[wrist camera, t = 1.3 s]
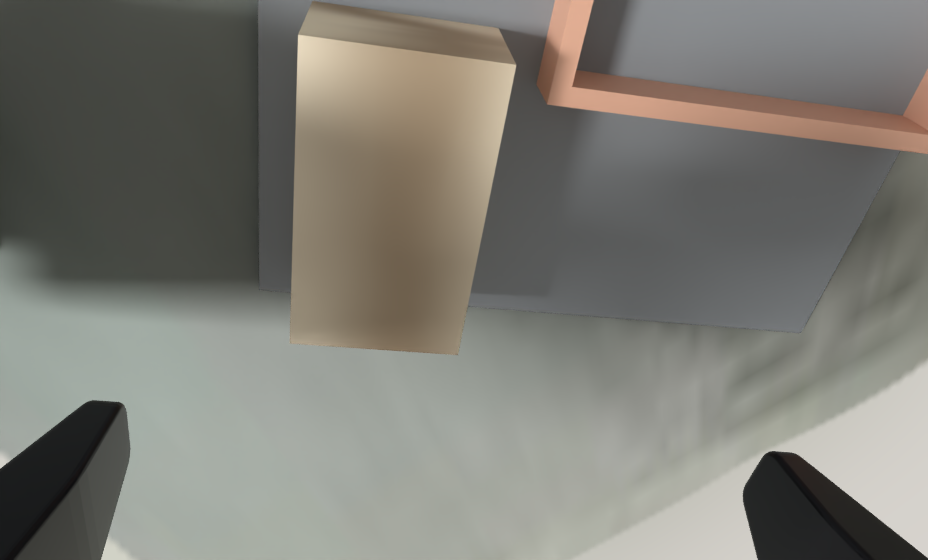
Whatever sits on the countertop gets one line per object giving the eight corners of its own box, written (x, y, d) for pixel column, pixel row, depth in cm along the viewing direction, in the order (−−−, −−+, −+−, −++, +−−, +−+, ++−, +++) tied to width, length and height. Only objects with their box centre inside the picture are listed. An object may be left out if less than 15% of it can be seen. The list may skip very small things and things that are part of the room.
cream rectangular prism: (301, 279, 21) (289, 343, 18) (312, 0, 16) (298, 34, 14) (450, 291, 21) (457, 355, 19) (498, 28, 17) (516, 64, 14)
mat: (261, 282, 21) (259, 289, 21) (259, -379, 13) (256, -384, 12) (795, 326, 24) (800, 333, 24) (1072, -192, 16) (1086, -192, 15)
